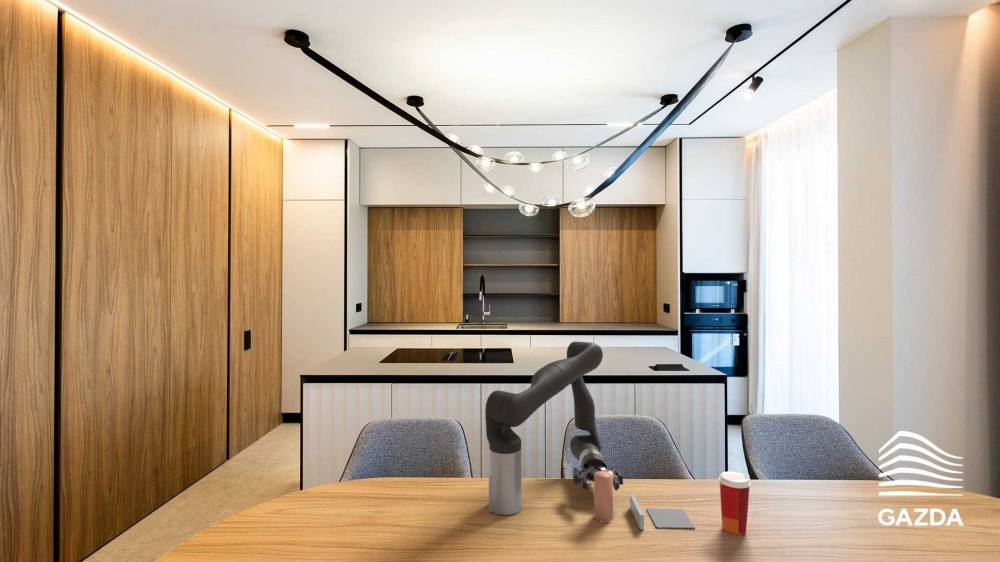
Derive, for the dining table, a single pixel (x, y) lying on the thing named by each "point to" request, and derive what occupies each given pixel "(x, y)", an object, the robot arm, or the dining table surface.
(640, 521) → the acrylic wall
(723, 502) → the paper cup
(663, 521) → the resting mat
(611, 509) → the salmon pink cylinder
